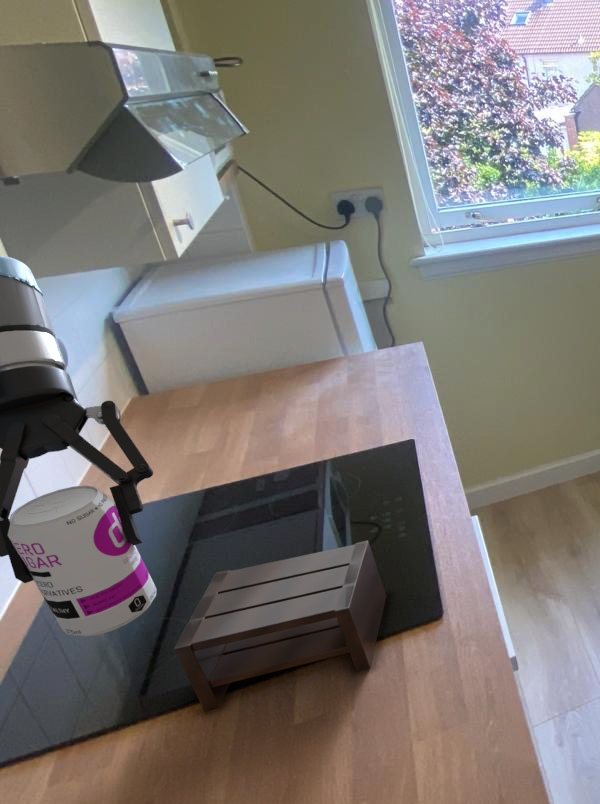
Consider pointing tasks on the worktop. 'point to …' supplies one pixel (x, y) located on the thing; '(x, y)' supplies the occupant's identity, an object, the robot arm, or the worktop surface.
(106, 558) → the white drink can
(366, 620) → the rack
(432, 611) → the worktop surface
